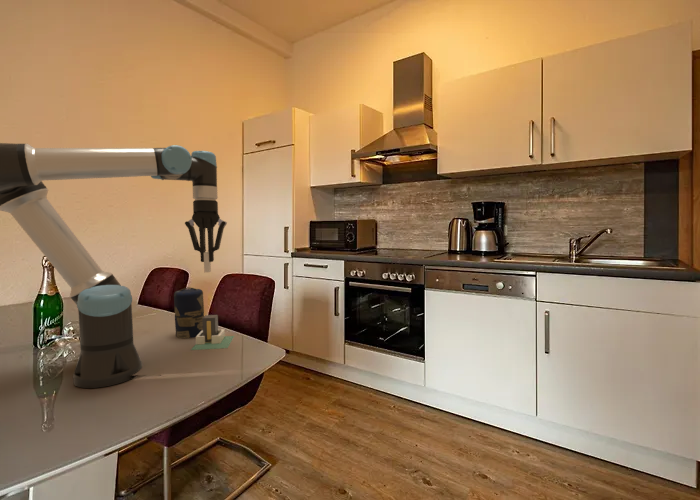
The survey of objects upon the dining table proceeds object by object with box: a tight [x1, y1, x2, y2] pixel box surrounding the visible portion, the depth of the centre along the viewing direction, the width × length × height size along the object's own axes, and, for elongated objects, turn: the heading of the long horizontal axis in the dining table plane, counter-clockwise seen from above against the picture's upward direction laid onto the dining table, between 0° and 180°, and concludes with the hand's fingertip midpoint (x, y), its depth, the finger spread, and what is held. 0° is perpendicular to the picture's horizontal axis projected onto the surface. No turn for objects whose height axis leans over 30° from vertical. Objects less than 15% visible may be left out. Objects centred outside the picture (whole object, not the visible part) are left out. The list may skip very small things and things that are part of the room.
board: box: [190, 335, 235, 351], centre depth 121 cm, size 13×11×1 cm
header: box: [195, 328, 226, 345], centre depth 123 cm, size 8×8×2 cm
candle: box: [173, 286, 205, 339], centre depth 130 cm, size 10×10×18 cm
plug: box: [202, 314, 219, 342], centre depth 123 cm, size 4×4×8 cm
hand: (207, 271), depth 121 cm, fingers closed
